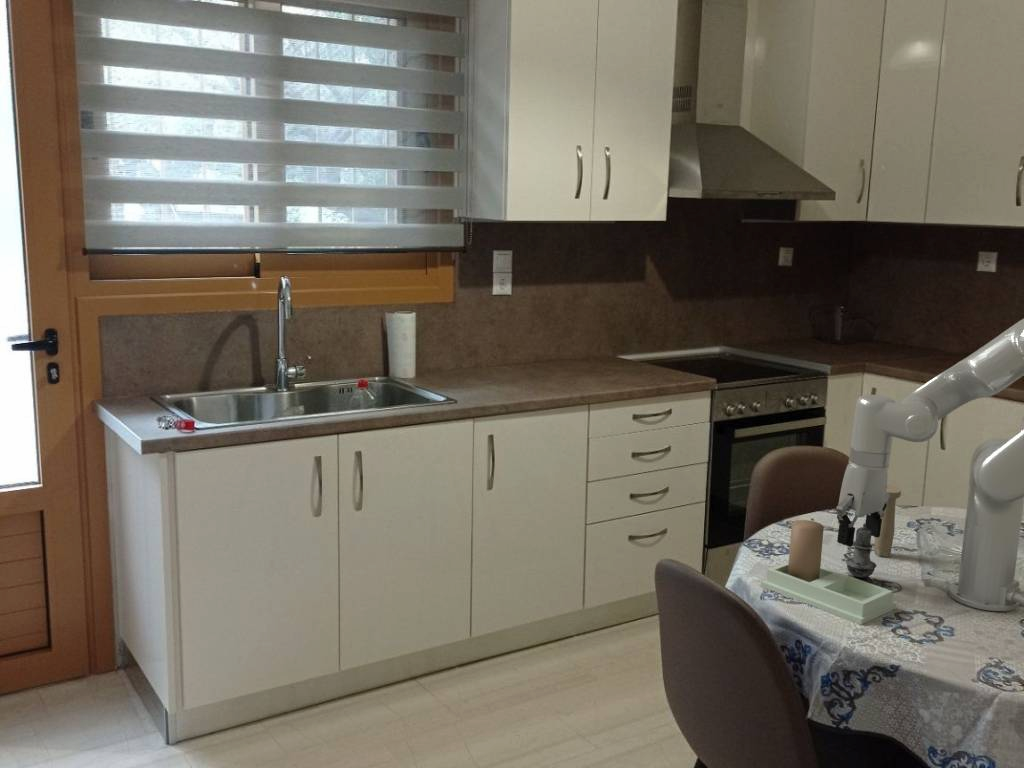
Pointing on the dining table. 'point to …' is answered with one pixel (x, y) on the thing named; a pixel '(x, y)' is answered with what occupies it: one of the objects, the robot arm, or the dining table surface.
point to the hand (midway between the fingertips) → (858, 539)
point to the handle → (887, 523)
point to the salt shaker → (861, 556)
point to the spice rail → (824, 580)
